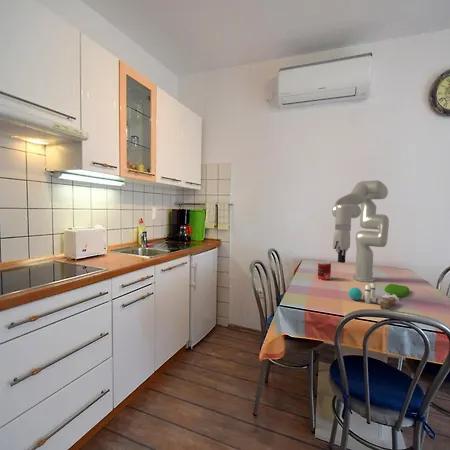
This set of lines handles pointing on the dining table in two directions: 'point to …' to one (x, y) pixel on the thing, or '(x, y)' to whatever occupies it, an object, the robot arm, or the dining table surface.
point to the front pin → (374, 300)
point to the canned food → (324, 270)
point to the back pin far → (373, 289)
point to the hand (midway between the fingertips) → (341, 262)
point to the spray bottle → (396, 291)
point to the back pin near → (367, 293)
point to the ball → (355, 293)
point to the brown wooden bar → (387, 303)
